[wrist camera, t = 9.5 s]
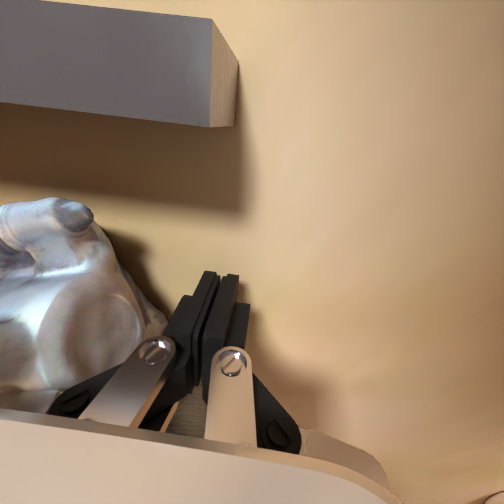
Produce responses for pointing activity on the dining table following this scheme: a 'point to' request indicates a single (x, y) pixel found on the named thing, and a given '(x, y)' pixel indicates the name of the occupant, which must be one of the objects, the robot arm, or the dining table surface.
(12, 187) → the dining table surface
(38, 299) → the brake caliper
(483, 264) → the dining table surface
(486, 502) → the lidded bowl
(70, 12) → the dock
